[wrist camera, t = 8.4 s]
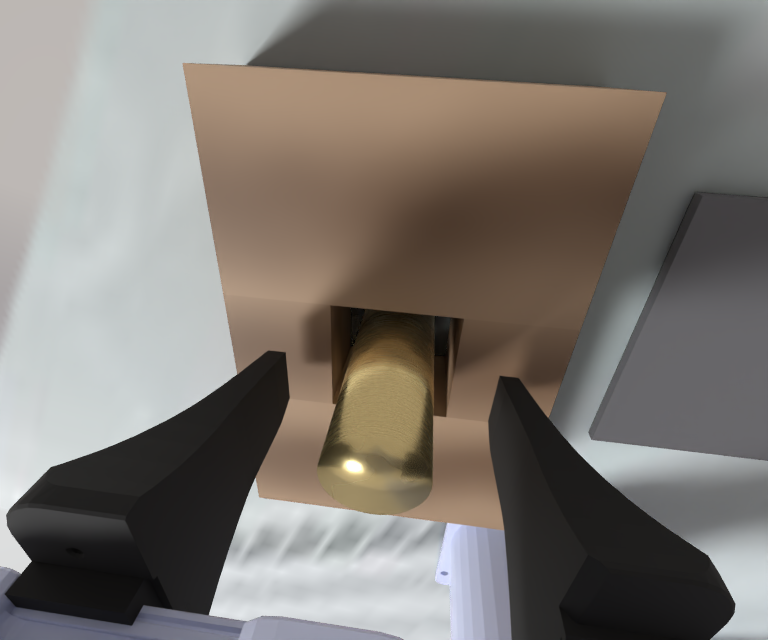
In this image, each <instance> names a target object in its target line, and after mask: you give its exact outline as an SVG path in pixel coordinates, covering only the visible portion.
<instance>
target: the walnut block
mask: <svg viewBox="0 0 768 640" xmlns="http://www.w3.org/2000/svg"><path fill="white" fill-rule="evenodd" d="M183 68H184V74H185V80H186V85H187V91H188V97H189V102H190V108H191V114H192V119H193V125H194V131H195V136H196V142H197V148H198V153H199V159H200V165H201V170H202V176H203V182H204V187H205V193H206V199H207V204H208V210H209V216H210V221H211V227H212V233H213V238H214V244H215V250H216V255H217V261H218V267H219V272H220V278H221V284H222V289H223V295H224V301H225V306H226V312H227V318H228V323H229V329H230V335H231V340H232V346H233V352H234V357H235V363H236V369H237V374H239V373H240V372H241V371H242V370H244V369H245V368H246V367H247V366H249V365H250V364H251V363H253V362H254V361H255V360H256V359H258V358H259V357H260V356H261V355H263V354H264V353H265V352H267V351H268V350H270V351H279V352H286V361H287V372H288V383H289V393H290V399H289V402H288V405H287V408H286V411H285V414H284V417H283V420H282V423H281V425H280V428H279V430H278V432H277V434H276V436H275V438H274V440H273V442H272V444H271V446H270V449H269V451H268V453H267V455H266V457H265V459H264V461H263V463H262V465H261V467H260V469H259V471H258V473H257V475H256V482H257V487H258V493H259V497H261V498H268V499H275V500H283V501H290V502H298V503H305V504H312V505H320V506H327V507H334V508H342V509H349V510H354V509H351V508H349V507H347V506H345V505H343V504H341V503H339V502H338V501H336V500H335V499H333V498H332V497H331V496H330V495H329V494H328V493H327V492H326V491H325V490H324V488H323V487H322V485H321V483H320V482H319V479H318V475H317V465H318V461H319V458H320V455H321V452H322V448H323V445H324V442H325V439H326V435H327V432H328V429H329V426H330V422H331V419H332V416H333V413H334V409H335V406H336V403H337V400H338V396H339V393H340V390H341V387H342V383H343V380H344V377H345V374H346V370H347V367H348V364H349V361H350V357H351V354H352V351H353V348H354V346H351V307H354V308H364V309H374V310H383V311H393V312H403V313H413V314H423V315H433V316H443V317H451V321H450V327H449V333H448V339H447V346H446V352H445V356H437V355H434V413H433V485H432V490H431V492H430V494H429V496H428V497H427V499H426V500H425V501H424V502H423V503H422V504H420V505H419V506H417V507H415V508H414V509H411V510H409V511H406V512H402V513H398V514H390V515H393V516H401V517H408V518H416V519H423V520H430V521H438V522H445V523H452V524H460V525H467V526H475V527H482V528H489V529H497V530H504V525H503V518H502V511H501V506H500V501H499V496H498V490H497V485H496V480H495V475H494V470H493V464H492V459H491V453H490V445H489V429H488V419H489V415H490V411H491V408H492V404H493V400H494V396H495V392H496V388H497V384H498V380H499V376H507V377H516V378H519V379H520V380H521V382H522V383H523V384H524V386H525V387H526V389H527V390H528V391H529V393H530V394H531V396H532V397H533V398H534V400H535V401H536V403H537V404H538V405H539V407H540V408H541V409H542V411H543V412H544V413H545V415H546V416H547V417H548V418H549V416H550V413H551V410H552V407H553V405H554V402H555V399H556V396H557V394H558V391H559V388H560V385H561V383H562V380H563V377H564V374H565V372H566V369H567V366H568V363H569V361H570V358H571V355H572V352H573V350H574V347H575V344H576V341H577V339H578V336H579V333H580V330H581V328H582V325H583V322H584V319H585V317H586V314H587V311H588V308H589V305H590V303H591V300H592V297H593V294H594V292H595V289H596V286H597V283H598V281H599V278H600V275H601V272H602V270H603V267H604V264H605V261H606V259H607V256H608V253H609V250H610V248H611V245H612V242H613V239H614V237H615V234H616V231H617V228H618V226H619V223H620V220H621V217H622V215H623V212H624V209H625V206H626V204H627V201H628V198H629V195H630V193H631V190H632V187H633V184H634V182H635V179H636V176H637V173H638V171H639V168H640V165H641V162H642V160H643V157H644V154H645V151H646V149H647V146H648V143H649V140H650V137H651V135H652V132H653V129H654V126H655V124H656V121H657V118H658V115H659V113H660V110H661V107H662V104H663V102H664V99H665V96H666V93H667V92H655V91H644V90H632V89H621V88H610V87H594V86H578V85H561V84H545V83H528V82H512V81H495V80H479V79H462V78H446V77H429V76H413V75H396V74H380V73H363V72H347V71H330V70H314V69H297V68H280V67H264V66H247V65H222V64H194V63H183Z"/></svg>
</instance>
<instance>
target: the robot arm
mask: <svg viewBox="0 0 768 640" xmlns="http://www.w3.org/2000/svg"><path fill="white" fill-rule="evenodd" d="M289 399H290V393H289V383H288V372H287V361H286V352H279V351H270V350H268V351H267V352H265V353H264V354H263V355H261V356H260V357H259V358H258V359H256V360H255V361H254V362H253V363H251V364H250V365H249V366H247V367H246V368H245V369H244V370H242V371H241V372H240V373H239V374H237V375H236V376H235V377H233V378H232V379H231V380H229V381H228V382H227V383H225V384H224V385H223V386H221V387H220V388H218V389H217V390H215V391H214V392H212V393H211V394H210V395H208V396H207V397H205V398H204V399H202V400H201V401H199V402H198V403H196V404H195V405H193V406H191V407H190V408H188V409H186V410H185V411H183V412H181V413H179V414H178V415H176V416H174V417H172V418H170V419H169V420H167V421H165V422H163V423H161V424H159V425H157V426H155V427H153V428H151V429H149V430H147V431H144V432H142V433H140V434H138V435H136V436H134V437H132V438H129V439H127V440H125V441H122V442H120V443H118V444H115V445H113V446H110V447H108V448H105V449H103V450H100V451H97V452H95V453H92V454H89V455H86V456H83V457H80V458H77V459H75V460H72V461H69V462H66V463H63V464H60V465H57V466H53V467H51V468H50V469H49V470H48V471H47V472H46V473H45V474H44V475H43V476H42V477H41V478H40V479H39V480H38V481H37V482H36V483H35V484H34V485H33V486H32V487H31V488H30V489H29V490H28V491H27V492H26V493H25V494H24V495H23V496H22V497H21V498H20V499H19V500H18V501H17V502H16V503H15V504H14V505H13V506H12V507H11V508H10V510H9V511H8V513H7V515H6V517H7V526H8V528H9V530H10V532H11V534H12V535H13V536H14V538H15V539H16V540H17V542H18V543H19V544H20V545H21V547H22V548H23V550H24V551H25V552H26V554H27V555H28V557H29V558H30V559H31V560H32V562H31V563H30V564H29V565H28V567H27V568H26V569H25V570H24V571H23V572H22V574H20V573H19V572H17V571H15V570H13V569H10V568H6V567H0V640H403V639H402V638H400V637H396V636H393V635H389V634H386V633H382V632H377V631H371V630H365V629H358V628H352V627H345V626H339V625H332V624H326V623H320V622H313V621H307V620H300V619H294V618H288V617H280V616H261V617H258V618H255V619H253V620H250V621H248V622H247V621H241V620H234V619H228V618H222V617H215V616H209V612H210V609H211V605H212V602H213V598H214V595H215V592H216V588H217V585H218V582H219V578H220V575H221V572H222V569H223V566H224V563H225V560H226V556H227V553H228V550H229V547H230V544H231V541H232V538H233V536H234V533H235V530H236V527H237V524H238V521H239V518H240V515H241V513H242V510H243V507H244V504H245V502H246V499H247V496H248V493H249V491H250V489H251V486H252V484H253V482H254V479H255V477H256V475H257V473H258V471H259V469H260V467H261V465H262V463H263V461H264V459H265V457H266V455H267V453H268V451H269V449H270V446H271V444H272V442H273V440H274V438H275V436H276V434H277V432H278V430H279V428H280V425H281V423H282V420H283V417H284V414H285V411H286V408H287V405H288V402H289ZM488 429H489V445H490V453H491V459H492V464H493V470H494V475H495V480H496V485H497V490H498V496H499V501H500V506H501V511H502V518H503V525H504V530H497V529H489V528H482V527H475V526H467V525H460V524H452V523H447V525H446V530H445V534H444V539H443V543H442V547H441V552H440V556H439V561H438V565H437V570H436V574H435V580H436V582H437V583H439V584H444V585H450V614H451V640H710V639H711V638H712V637H713V636H714V635H715V634H716V633H717V632H719V631H720V630H721V629H722V628H723V627H724V626H725V625H726V624H727V623H728V622H729V620H730V619H731V618H732V616H733V614H734V612H735V602H734V600H733V598H732V596H731V594H730V593H729V591H728V589H727V587H726V585H725V583H724V581H723V580H722V578H721V576H720V574H719V572H718V571H717V569H716V568H715V566H714V564H713V563H712V561H711V560H710V558H709V557H708V555H706V554H705V553H703V552H702V551H700V550H699V549H697V548H696V547H694V546H693V545H691V544H690V543H688V542H687V541H685V540H683V539H682V538H680V537H679V536H677V535H676V534H674V533H673V532H671V531H670V530H668V529H667V528H666V527H664V526H663V525H661V524H660V523H659V522H657V521H656V520H655V519H653V518H652V517H651V516H649V515H648V514H647V513H645V512H644V511H643V510H641V509H640V508H639V507H637V506H636V505H635V504H634V503H632V502H631V501H630V500H629V499H627V498H626V497H625V496H624V495H623V494H621V493H620V492H619V491H618V490H617V489H616V488H614V487H613V486H612V485H611V484H610V483H609V482H607V481H606V480H605V479H604V478H603V477H602V476H601V475H600V474H599V473H598V472H597V471H596V470H595V469H594V468H593V467H592V466H590V465H589V464H588V463H587V462H586V461H585V460H584V459H583V458H582V457H581V456H580V455H579V454H578V452H577V451H576V450H575V449H574V448H573V447H572V446H571V445H570V444H569V443H568V441H567V440H566V439H565V438H564V437H563V436H562V435H561V433H560V432H559V431H558V430H557V429H556V427H555V426H554V425H553V423H552V422H551V421H550V420H549V418H548V417H547V416H546V415H545V413H544V412H543V411H542V409H541V408H540V407H539V405H538V404H537V403H536V401H535V400H534V398H533V397H532V396H531V394H530V393H529V391H528V390H527V389H526V387H525V386H524V384H523V383H522V382H521V380H520V379H519V378H516V377H507V376H499V380H498V384H497V388H496V392H495V396H494V400H493V404H492V408H491V411H490V415H489V419H488Z"/></svg>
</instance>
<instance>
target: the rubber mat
mask: <svg viewBox="0 0 768 640" xmlns="http://www.w3.org/2000/svg"><path fill="white" fill-rule="evenodd" d="M589 435H590V437H591V440H598V441H606V442H615V443H623V444H632V445H640V446H648V447H657V448H665V449H674V450H682V451H691V452H699V453H707V454H716V455H724V456H733V457H741V458H750V459H758V460H766V461H768V198H765V197H752V196H739V195H726V194H713V193H700V192H695V194H694V196H693V198H692V201H691V203H690V205H689V207H688V210H687V212H686V214H685V216H684V219H683V221H682V223H681V225H680V228H679V230H678V232H677V234H676V237H675V239H674V241H673V243H672V246H671V248H670V250H669V252H668V255H667V257H666V259H665V261H664V264H663V266H662V268H661V270H660V273H659V275H658V277H657V279H656V282H655V284H654V286H653V288H652V290H651V293H650V295H649V297H648V299H647V302H646V304H645V306H644V308H643V311H642V313H641V315H640V317H639V320H638V322H637V324H636V326H635V329H634V331H633V333H632V335H631V338H630V340H629V342H628V344H627V347H626V349H625V351H624V353H623V356H622V358H621V360H620V362H619V365H618V367H617V369H616V371H615V374H614V376H613V378H612V380H611V383H610V385H609V387H608V389H607V392H606V394H605V396H604V398H603V401H602V403H601V405H600V407H599V410H598V412H597V414H596V416H595V419H594V421H593V423H592V425H591V428H590V430H589Z"/></svg>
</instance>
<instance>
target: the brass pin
mask: <svg viewBox="0 0 768 640" xmlns="http://www.w3.org/2000/svg"><path fill="white" fill-rule="evenodd" d="M434 326H435V316H433V315H423V314H413V313H403V312H393V311H383V310H374V309H365V312H364V315H363V318H362V322H361V325H360V328H359V331H358V335H357V338H356V341H355V344H354V348H353V351H352V354H351V357H350V361H349V364H348V367H347V370H346V374H345V377H344V380H343V383H342V387H341V390H340V393H339V396H338V400H337V403H336V406H335V409H334V413H333V416H332V419H331V422H330V426H329V429H328V432H327V435H326V439H325V442H324V445H323V448H322V452H321V455H320V458H319V461H318V465H317V475H318V479H319V482H320V483H321V485H322V487H323V488H324V490H325V491H326V492H327V493H328V494H329V495H330V496H331V497H332V498H333V499H335V500H336V501H338V502H339V503H341V504H343V505H345V506H347V507H349V508H351V509H354V510H357V511H360V512H364V513H369V514H377V515H390V514H398V513H402V512H406V511H409V510H411V509H414V508H415V507H417V506H419V505H420V504H422V503H423V502H424V501H425V500H426V499H427V497H428V496H429V494H430V492H431V490H432V485H433V413H434Z"/></svg>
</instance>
